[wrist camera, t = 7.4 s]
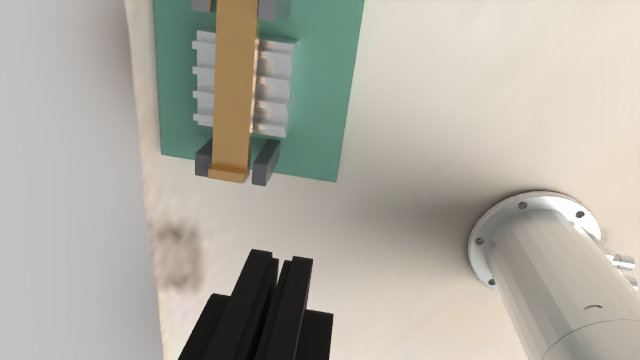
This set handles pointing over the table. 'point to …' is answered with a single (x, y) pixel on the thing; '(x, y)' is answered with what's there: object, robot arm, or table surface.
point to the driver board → (310, 90)
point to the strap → (234, 88)
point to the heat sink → (271, 73)
